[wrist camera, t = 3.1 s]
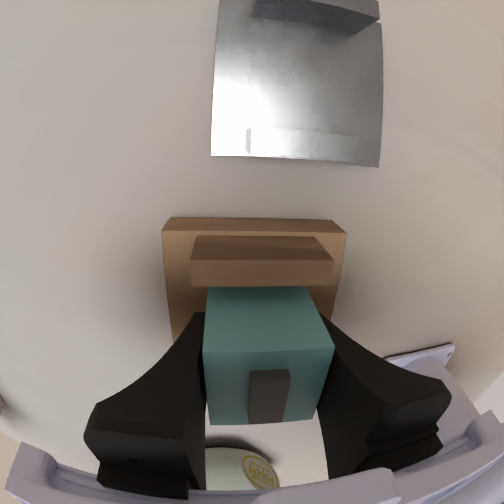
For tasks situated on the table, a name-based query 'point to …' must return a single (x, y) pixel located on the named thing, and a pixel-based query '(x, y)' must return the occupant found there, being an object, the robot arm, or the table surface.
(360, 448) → the robot arm
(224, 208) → the table surface
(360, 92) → the lower dock
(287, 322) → the plug
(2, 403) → the house plant
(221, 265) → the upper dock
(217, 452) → the air freshener
